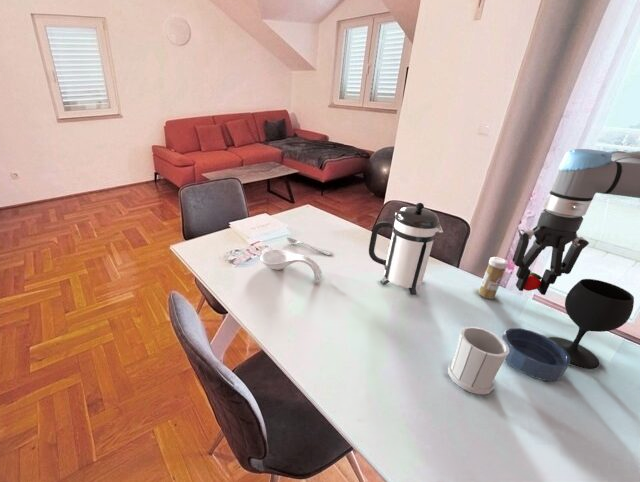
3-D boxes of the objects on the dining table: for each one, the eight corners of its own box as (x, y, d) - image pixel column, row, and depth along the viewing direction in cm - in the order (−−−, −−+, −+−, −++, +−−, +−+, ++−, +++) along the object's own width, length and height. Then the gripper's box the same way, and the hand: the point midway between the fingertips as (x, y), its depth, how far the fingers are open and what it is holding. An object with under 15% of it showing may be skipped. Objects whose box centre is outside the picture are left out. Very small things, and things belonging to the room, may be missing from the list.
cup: (446, 353, 81) (459, 317, 76) (489, 368, 77) (506, 331, 72) (447, 384, 73) (461, 345, 68) (495, 403, 68) (514, 363, 64)
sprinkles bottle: (491, 301, 100) (505, 265, 95) (475, 294, 104) (488, 259, 99) (496, 296, 103) (510, 260, 98) (480, 289, 106) (493, 254, 101)
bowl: (547, 350, 82) (555, 336, 80) (572, 389, 72) (581, 373, 70) (491, 337, 86) (497, 323, 84) (507, 372, 76) (514, 357, 74)
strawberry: (528, 293, 89) (540, 279, 88) (536, 295, 85) (548, 280, 84) (513, 284, 90) (524, 270, 90) (519, 285, 86) (532, 270, 86)
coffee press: (409, 269, 118) (428, 193, 106) (434, 295, 103) (459, 211, 91) (363, 269, 117) (377, 194, 105) (382, 296, 103) (401, 212, 91)
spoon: (288, 239, 140) (288, 236, 140) (332, 252, 129) (333, 249, 128) (284, 242, 137) (284, 239, 136) (329, 257, 126) (329, 253, 125)
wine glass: (543, 353, 81) (575, 290, 73) (544, 332, 88) (573, 271, 80) (601, 377, 75) (644, 310, 67) (597, 351, 82) (635, 288, 74)
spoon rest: (254, 267, 119) (254, 251, 116) (269, 254, 128) (270, 239, 125) (313, 288, 106) (315, 271, 104) (325, 272, 115) (327, 256, 113)
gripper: (526, 213, 78) (496, 290, 87) (619, 223, 72) (577, 305, 81) (514, 203, 84) (488, 276, 93) (599, 211, 78) (562, 289, 87)
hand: (529, 289), depth 87 cm, fingers closed on strawberry, 4 cm apart
